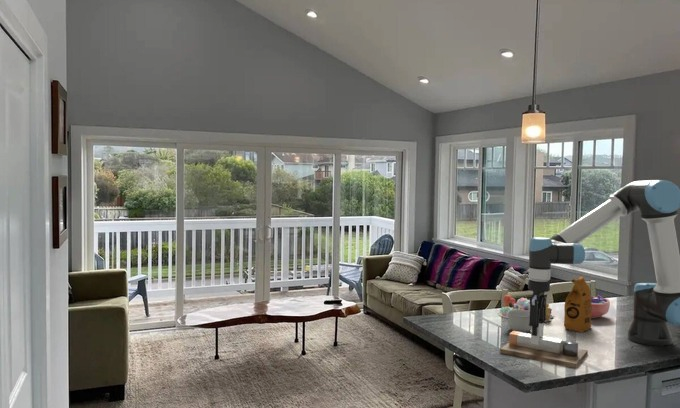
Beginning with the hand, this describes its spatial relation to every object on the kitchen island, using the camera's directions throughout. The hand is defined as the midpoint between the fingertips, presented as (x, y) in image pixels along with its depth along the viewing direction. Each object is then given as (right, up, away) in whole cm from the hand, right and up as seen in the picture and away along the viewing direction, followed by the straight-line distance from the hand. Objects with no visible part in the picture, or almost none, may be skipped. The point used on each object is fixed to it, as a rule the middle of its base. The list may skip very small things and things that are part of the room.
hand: (536, 342), depth 189 cm
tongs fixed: (+2, -2, -1) cm, 3 cm away
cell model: (+45, -3, +52) cm, 69 cm away
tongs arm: (-1, -2, -1) cm, 2 cm away
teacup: (+4, -3, +30) cm, 30 cm away
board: (+2, -4, -1) cm, 5 cm away
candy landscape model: (+15, -3, +53) cm, 55 cm away
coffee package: (+30, -3, +33) cm, 44 cm away
